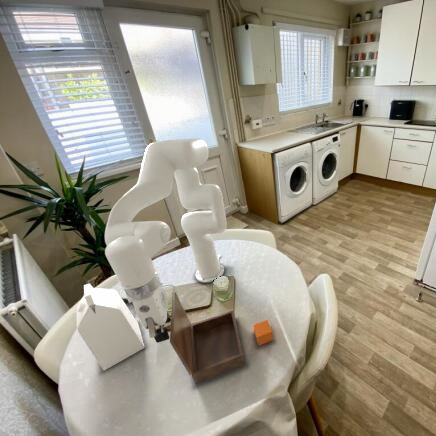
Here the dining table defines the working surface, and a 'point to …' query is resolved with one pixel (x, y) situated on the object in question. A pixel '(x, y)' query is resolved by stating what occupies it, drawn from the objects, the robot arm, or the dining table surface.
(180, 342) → the chest lid
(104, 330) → the milk
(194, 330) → the chest
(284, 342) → the dining table surface
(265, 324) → the orange cube
